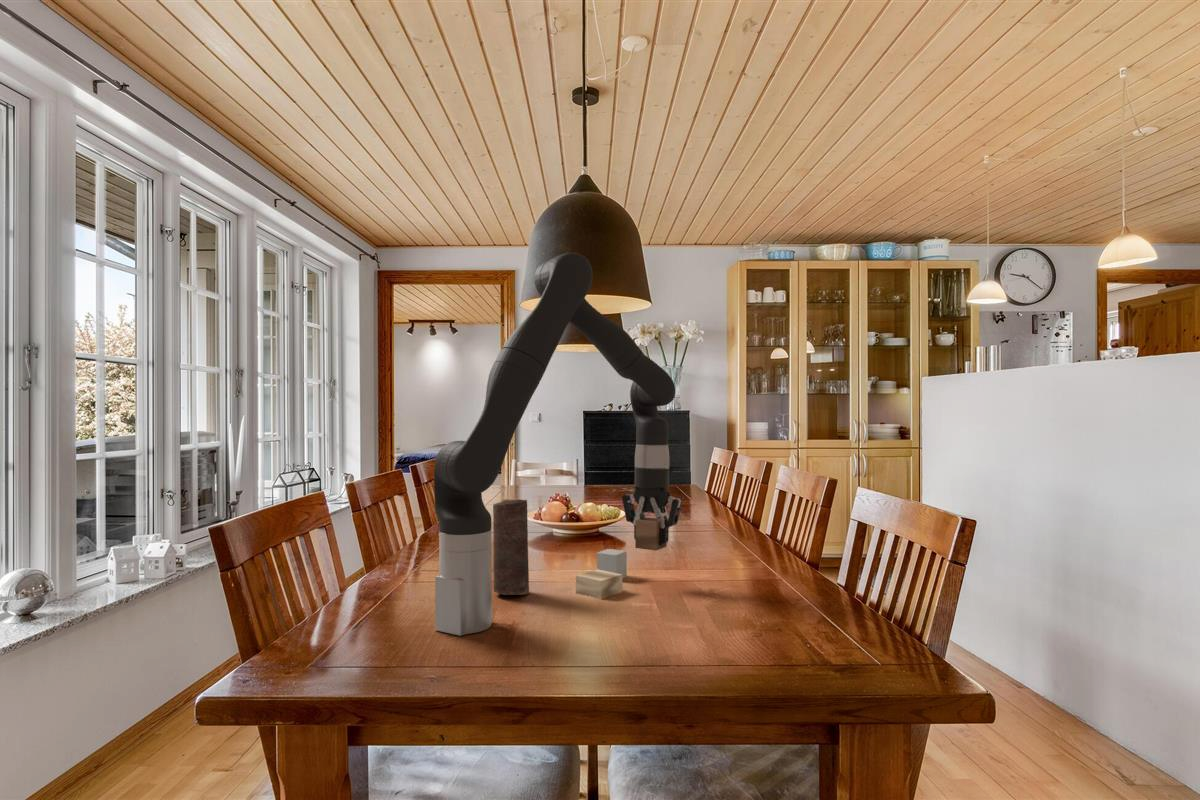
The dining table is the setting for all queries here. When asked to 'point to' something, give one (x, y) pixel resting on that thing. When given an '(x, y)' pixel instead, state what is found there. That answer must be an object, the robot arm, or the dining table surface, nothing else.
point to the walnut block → (648, 534)
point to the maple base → (599, 584)
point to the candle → (510, 547)
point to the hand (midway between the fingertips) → (651, 543)
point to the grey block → (613, 561)
